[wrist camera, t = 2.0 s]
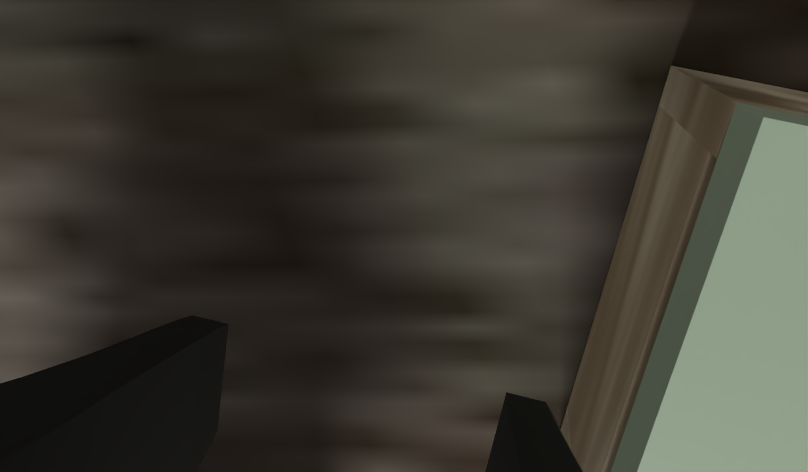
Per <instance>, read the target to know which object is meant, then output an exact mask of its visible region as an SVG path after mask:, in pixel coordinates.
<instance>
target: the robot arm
mask: <svg viewBox="0 0 808 472" xmlns="http://www.w3.org/2000/svg"><path fill="white" fill-rule="evenodd" d="M227 331H228V324H225V323H221V322H217V321H213V320H209V319H204V318H200V317H196V316H189V317H186V318H183V319H180V320H177V321H174V322H171V323H168V324H166V325H163V326H161V327H158V328H155V329H153V330H150V331H148V332H145V333H143V334H140V335H138V336H135V337H133V338H130V339H127V340H125V341H122V342H120V343H117V344H114V345H112V346H109V347H107V348H104V349H102V350H99V351H96V352H94V353H91V354H88V355H86V356H83V357H80V358H77V359H74V360H71V361H68V362H65V363H62V364H59V365H56V366H54V367H51V368H48V369H45V370H42V371H39V372H36V373H33V374H30V375H27V376H24V377H21V378H17V379H14V380H11V381H7V382H4V383H0V472H195V471H196V469H197V468H198V466H199V464H200V462H201V460H202V459H203V457H204V455H205V453H206V451H207V449H208V447H209V445H210V443H211V441H212V439H213V437H214V436H215V434H216V432H217V427H218V417H219V408H220V398H221V389H222V379H223V369H224V360H225V350H226V341H227ZM486 472H583V471H582V469H581V467H580V465H579V464H578V462H577V460H576V458H575V456H574V455H573V453H572V451H571V449H570V447H569V445H568V443H567V441H566V440H565V438H564V436H563V434H562V432H561V430H560V428H559V426H558V424H557V422H556V420H555V418H554V416H553V414H552V412H551V410H550V409H549V407H548V405H547V404H546V402H543V401H539V400H535V399H531V398H527V397H523V396H519V395H514V394H510V393H506V396H505V400H504V404H503V408H502V411H501V415H500V419H499V423H498V426H497V430H496V434H495V438H494V441H493V445H492V449H491V453H490V456H489V460H488V464H487V468H486Z"/></svg>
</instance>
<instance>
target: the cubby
mask: <svg viewBox="0 0 808 472" xmlns="http://www.w3.org/2000/svg"><path fill="white" fill-rule="evenodd" d="M737 102H738V103H743V104H748V105H753V106H758V107H763V108H768V109H773V110H778V111H783V112H788V113H793V114H798V115H803V116H808V92H803V91H797V90H792V89H787V88H782V87H777V86H772V85H767V84H762V83H757V82H752V81H747V80H742V79H737V78H732V77H727V76H722V75H717V74H712V73H706V72H701V71H696V70H691V69H686V68H681V67H676V66H671V67H670V70H669V73H668V77H667V80H666V83H665V87H664V90H663V93H662V96H661V100H660V103H659V106H658V110H657V113H656V116H655V120H654V123H653V126H652V129H651V133H650V136H649V139H648V143H647V146H646V149H645V152H644V156H643V159H642V162H641V166H640V169H639V172H638V176H637V179H636V182H635V185H634V189H633V192H632V195H631V199H630V202H629V205H628V208H627V212H626V215H625V218H624V222H623V225H622V228H621V232H620V235H619V238H618V241H617V245H616V248H615V251H614V255H613V258H612V261H611V265H610V268H609V271H608V274H607V278H606V281H605V284H604V288H603V291H602V294H601V297H600V301H599V304H598V307H597V311H596V314H595V317H594V321H593V324H592V327H591V330H590V334H589V337H588V340H587V344H586V347H585V350H584V353H583V357H582V360H581V363H580V367H579V370H578V373H577V377H576V380H575V383H574V386H573V390H572V393H571V396H570V400H569V403H568V406H567V410H566V413H565V416H564V419H563V423H562V426H561V429H560V430H561V432H562V434H563V436H564V438H565V440H566V441H567V443H568V445H569V447H570V449H571V451H572V453H573V455H574V456H575V458H576V460H577V462H578V464H579V465H580V467H581V469H582V471H583V472H611V469H612V466H613V464H614V461H615V458H616V455H617V452H618V449H619V446H620V443H621V440H622V437H623V434H624V431H625V428H626V425H627V422H628V420H629V417H630V414H631V411H632V408H633V405H634V402H635V399H636V396H637V393H638V390H639V387H640V384H641V381H642V378H643V376H644V373H645V370H646V367H647V364H648V361H649V358H650V355H651V352H652V349H653V346H654V343H655V340H656V337H657V334H658V332H659V329H660V326H661V323H662V320H663V317H664V314H665V311H666V308H667V305H668V302H669V299H670V296H671V293H672V291H673V288H674V285H675V282H676V279H677V276H678V273H679V270H680V267H681V264H682V261H683V258H684V255H685V252H686V249H687V247H688V244H689V241H690V238H691V235H692V232H693V229H694V226H695V223H696V220H697V217H698V214H699V211H700V208H701V205H702V203H703V200H704V197H705V194H706V191H707V188H708V185H709V182H710V179H711V176H712V173H713V170H714V167H715V164H716V161H717V159H718V156H719V153H720V150H721V147H722V144H723V141H724V138H725V135H726V132H727V129H728V126H729V123H730V120H731V117H732V115H733V112H734V109H735V106H736V103H737Z"/></svg>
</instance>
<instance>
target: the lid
mask: <svg viewBox="0 0 808 472" xmlns="http://www.w3.org/2000/svg"><path fill="white" fill-rule="evenodd" d="M611 472H808V116H803V115H798V114H793V113H788V112H783V111H778V110H773V109H768V108H763V107H758V106H753V105H748V104H743V103H738V102H737V103H736V106H735V109H734V112H733V115H732V117H731V120H730V123H729V126H728V129H727V132H726V135H725V138H724V141H723V144H722V147H721V150H720V153H719V156H718V159H717V161H716V164H715V167H714V170H713V173H712V176H711V179H710V182H709V185H708V188H707V191H706V194H705V197H704V200H703V203H702V205H701V208H700V211H699V214H698V217H697V220H696V223H695V226H694V229H693V232H692V235H691V238H690V241H689V244H688V247H687V249H686V252H685V255H684V258H683V261H682V264H681V267H680V270H679V273H678V276H677V279H676V282H675V285H674V288H673V291H672V293H671V296H670V299H669V302H668V305H667V308H666V311H665V314H664V317H663V320H662V323H661V326H660V329H659V332H658V334H657V337H656V340H655V343H654V346H653V349H652V352H651V355H650V358H649V361H648V364H647V367H646V370H645V373H644V376H643V378H642V381H641V384H640V387H639V390H638V393H637V396H636V399H635V402H634V405H633V408H632V411H631V414H630V417H629V420H628V422H627V425H626V428H625V431H624V434H623V437H622V440H621V443H620V446H619V449H618V452H617V455H616V458H615V461H614V464H613V466H612V469H611Z"/></svg>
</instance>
